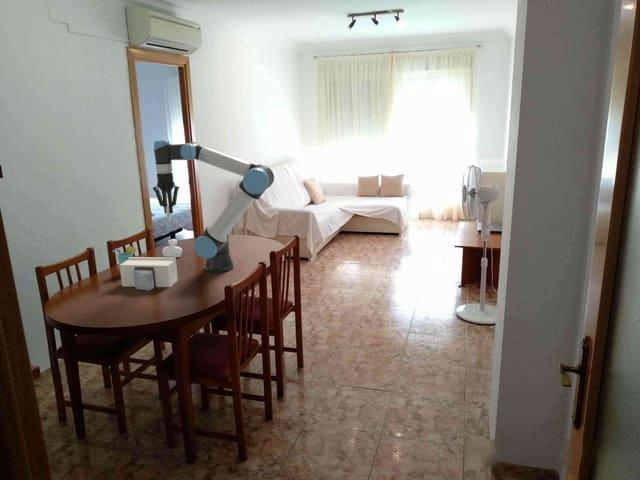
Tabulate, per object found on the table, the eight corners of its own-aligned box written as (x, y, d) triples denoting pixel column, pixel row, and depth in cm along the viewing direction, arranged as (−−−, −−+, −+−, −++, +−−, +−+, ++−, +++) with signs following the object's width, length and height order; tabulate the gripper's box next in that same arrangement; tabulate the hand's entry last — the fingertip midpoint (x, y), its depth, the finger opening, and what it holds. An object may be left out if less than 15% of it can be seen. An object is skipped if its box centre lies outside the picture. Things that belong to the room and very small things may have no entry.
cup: (121, 279, 252) (118, 250, 249) (110, 277, 255) (106, 249, 252) (141, 271, 265) (138, 243, 261) (130, 269, 268) (126, 242, 264)
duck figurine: (183, 260, 291) (186, 242, 296) (178, 255, 284) (182, 237, 289) (163, 259, 293) (167, 242, 297) (158, 255, 286) (162, 237, 290)
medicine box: (154, 288, 239) (153, 270, 237) (148, 291, 235) (146, 273, 233) (141, 286, 242) (139, 269, 240) (135, 289, 238) (133, 271, 236)
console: (177, 280, 249) (175, 257, 246) (170, 287, 239) (167, 263, 237) (131, 279, 252) (129, 257, 249) (122, 286, 242) (119, 262, 239)
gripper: (180, 171, 248) (184, 218, 253) (154, 171, 249) (159, 218, 254) (174, 173, 240) (179, 221, 246) (148, 173, 241) (154, 221, 247)
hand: (169, 219), depth 250 cm, fingers closed
